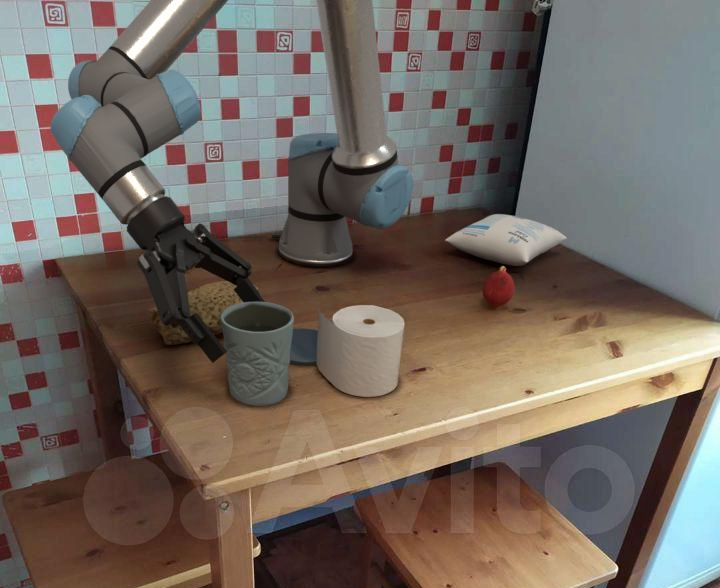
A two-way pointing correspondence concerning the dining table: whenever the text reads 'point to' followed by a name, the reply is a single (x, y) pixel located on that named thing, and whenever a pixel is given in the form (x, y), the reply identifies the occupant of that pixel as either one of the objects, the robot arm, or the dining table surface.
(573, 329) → the dining table surface
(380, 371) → the toilet tissue
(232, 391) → the embossed green cup
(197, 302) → the sponge
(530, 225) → the pouch
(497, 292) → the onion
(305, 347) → the coaster
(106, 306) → the dining table surface
